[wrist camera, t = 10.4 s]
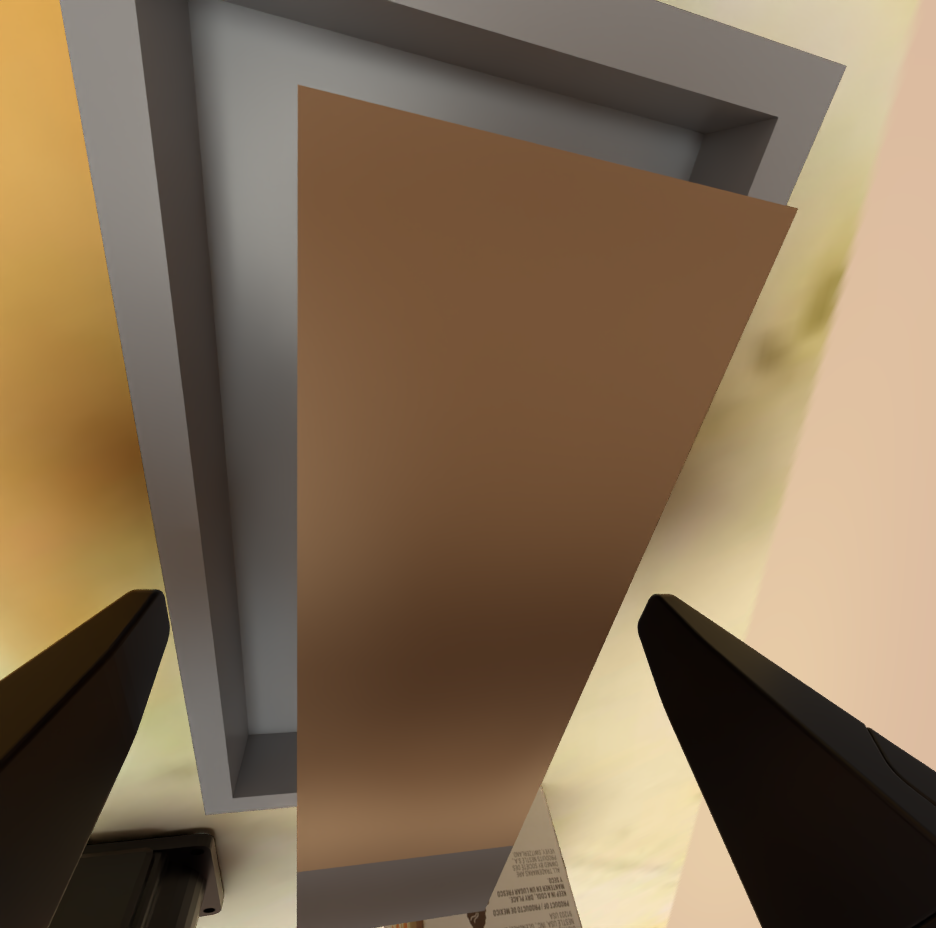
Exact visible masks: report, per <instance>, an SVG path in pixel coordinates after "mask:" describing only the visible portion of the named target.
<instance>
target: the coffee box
mask: <svg viewBox="0 0 936 928" xmlns="http://www.w3.org/2000/svg"><path fill="white" fill-rule="evenodd" d="M384 928H582V925H581V921H580V918H579V914H578V911H577V908H576V904H575V901H574V897H573V894H572V890H571V887H570V883H569V880H568V876H567V872H566V867H565V864H564V860H563V858H562V854H561V851H560V847H559V844H558V840H557V836H556V833H555V830H554V826H553V823H552V819H551V815H550V812H549V809H548V805H547V801H546V798H545V795H544V791H543V788H542V787H541V786H540V788H539V790H538V792H537V794H536V797H535V799H534V801H533V803H532V806H531V808H530V810H529V812H528V814H527V817H526V819H525V821H524V823H523V826H522V828H521V830H520V832H519V835H518V837H517V839H516V841H515V844H514V846H513V848H512V850H511V853H510V855H509V857H508V859H507V862H506V864H505V866H504V868H503V870H502V873H501V875H500V877H499V879H498V882H497V884H496V886H495V888H494V891H493V893H492V895H491V897H490V900H489V902H488V904H487V906H486V909H485V911H479V912H473V913H466V914H460V915H453V916H447V917H440V918H434V919H427V920H421V921H415V922H408V923H402V924H395V925H389V926H384Z"/></svg>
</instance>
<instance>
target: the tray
mask: <svg viewBox="0 0 936 928" xmlns="http://www.w3.org/2000/svg"><path fill="white" fill-rule="evenodd" d="M60 5H61V11H62V16H63V22H64V28H65V33H66V39H67V44H68V50H69V56H70V61H71V67H72V72H73V78H74V83H75V89H76V95H77V100H78V106H79V111H80V117H81V123H82V128H83V134H84V139H85V145H86V150H87V156H88V162H89V167H90V173H91V178H92V184H93V190H94V195H95V201H96V206H97V212H98V217H99V223H100V229H101V234H102V240H103V245H104V251H105V257H106V262H107V268H108V273H109V279H110V284H111V290H112V296H113V301H114V307H115V312H116V318H117V324H118V329H119V335H120V340H121V346H122V351H123V357H124V363H125V368H126V374H127V379H128V385H129V391H130V396H131V402H132V407H133V413H134V418H135V424H136V430H137V435H138V441H139V446H140V452H141V458H142V463H143V469H144V474H145V480H146V485H147V491H148V497H149V502H150V508H151V513H152V519H153V525H154V530H155V536H156V541H157V547H158V552H159V558H160V564H161V569H162V575H163V580H164V586H165V592H166V597H167V603H168V608H169V614H170V619H171V625H172V631H173V636H174V642H175V647H176V653H177V659H178V664H179V670H180V675H181V681H182V686H183V692H184V698H185V703H186V709H187V714H188V720H189V726H190V731H191V737H192V742H193V748H194V753H195V759H196V765H197V770H198V776H199V781H200V787H201V793H202V798H203V804H204V809H205V815H211V814H222V813H232V812H243V811H254V810H265V809H275V808H286V807H297V251H298V85H302V86H306V87H310V88H314V89H318V90H322V91H326V92H330V93H334V94H338V95H342V96H346V97H350V98H354V99H358V100H362V101H367V102H371V103H375V104H379V105H383V106H387V107H391V108H395V109H399V110H403V111H407V112H411V113H415V114H419V115H423V116H427V117H431V118H435V119H439V120H443V121H447V122H451V123H455V124H459V125H463V126H467V127H471V128H475V129H479V130H483V131H487V132H491V133H495V134H499V135H503V136H508V137H512V138H516V139H520V140H524V141H528V142H532V143H536V144H540V145H544V146H548V147H552V148H556V149H560V150H564V151H568V152H572V153H576V154H580V155H584V156H588V157H592V158H596V159H600V160H604V161H608V162H612V163H616V164H620V165H624V166H628V167H632V168H636V169H640V170H644V171H649V172H653V173H657V174H661V175H665V176H669V177H673V178H677V179H681V180H685V181H689V182H693V183H697V184H701V185H705V186H709V187H713V188H717V189H721V190H725V191H729V192H733V193H737V194H741V195H745V196H749V197H753V198H757V199H761V200H765V201H769V202H773V203H777V204H781V205H785V206H786V205H787V202H788V200H789V198H790V195H791V193H792V191H793V188H794V186H795V184H796V182H797V179H798V177H799V175H800V172H801V170H802V168H803V165H804V163H805V161H806V158H807V156H808V154H809V152H810V149H811V147H812V145H813V142H814V140H815V138H816V135H817V133H818V131H819V129H820V126H821V124H822V122H823V119H824V117H825V115H826V112H827V110H828V108H829V105H830V103H831V101H832V99H833V96H834V94H835V92H836V89H837V87H838V85H839V82H840V80H841V78H842V75H843V73H844V71H845V69H846V66H845V65H842V64H839V63H836V62H833V61H830V60H828V59H825V58H822V57H819V56H816V55H813V54H810V53H807V52H804V51H801V50H798V49H796V48H793V47H790V46H787V45H784V44H781V43H778V42H775V41H772V40H769V39H767V38H764V37H761V36H758V35H755V34H752V33H749V32H746V31H743V30H740V29H737V28H735V27H732V26H729V25H726V24H723V23H720V22H717V21H714V20H711V19H708V18H705V17H703V16H700V15H697V14H694V13H691V12H688V11H685V10H682V9H679V8H676V7H674V6H671V5H668V4H665V3H662V2H659V1H656V0H60Z"/></svg>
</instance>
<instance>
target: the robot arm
mask: <svg viewBox="0 0 936 928" xmlns="http://www.w3.org/2000/svg"><path fill="white" fill-rule="evenodd" d="M169 632H170V624H169V619H168V613H167V607H166V602H165V597H164V594H163V592H162V591H160V590H149V589H136V590H132V591H130V592H128V593H126V594H125V595H123V596H122V597H120V598H119V599H118V600H116V601H115V602H113V603H112V604H110V605H109V606H107V607H106V608H105V609H103V610H102V611H100V612H99V613H97V614H96V615H94V616H93V617H92V618H90V619H89V620H87V621H86V622H84V623H83V624H81V625H80V626H79V627H77V628H76V629H74V630H73V631H71V632H70V633H68V634H67V635H65V636H64V637H63V638H61V639H60V640H58V641H57V642H55V643H54V644H52V645H51V646H50V647H48V648H47V649H45V650H44V651H42V652H41V653H39V654H38V655H37V656H35V657H34V658H32V659H31V660H29V661H28V662H26V663H25V664H24V665H22V666H21V667H19V668H18V669H16V670H15V671H13V672H12V673H11V674H9V675H8V676H6V677H5V678H3V679H2V680H0V928H196V925H197V922H198V918H199V917H200V916H207V915H213V914H216V913H219V912H220V911H221V908H222V904H223V899H224V895H223V889H222V883H221V877H220V871H219V865H218V859H217V854H216V848H215V842H214V838H213V836H211V835H208V834H193V835H183V836H173V837H163V838H154V839H144V840H134V841H124V842H114V843H104V844H94V845H86V844H87V842H88V840H89V837H90V835H91V833H92V831H93V829H94V826H95V824H96V822H97V820H98V818H99V815H100V813H101V811H102V809H103V807H104V805H105V802H106V800H107V798H108V796H109V794H110V791H111V789H112V787H113V785H114V783H115V781H116V778H117V776H118V774H119V772H120V770H121V767H122V765H123V763H124V761H125V759H126V757H127V754H128V752H129V750H130V747H131V745H132V743H133V740H134V738H135V736H136V733H137V730H138V727H139V725H140V722H141V719H142V716H143V713H144V710H145V707H146V704H147V701H148V698H149V695H150V692H151V689H152V686H153V683H154V680H155V677H156V674H157V671H158V668H159V665H160V662H161V659H162V656H163V653H164V650H165V647H166V644H167V641H168V637H169ZM638 634H639V637H640V640H641V643H642V646H643V649H644V652H645V655H646V658H647V661H648V663H649V666H650V669H651V672H652V675H653V678H654V681H655V684H656V687H657V690H658V693H659V696H660V698H661V701H662V704H663V706H664V709H665V711H666V713H667V716H668V718H669V721H670V723H671V725H672V727H673V730H674V732H675V734H676V736H677V738H678V741H679V743H680V745H681V747H682V750H683V752H684V754H685V756H686V759H687V761H688V763H689V765H690V768H691V770H692V772H693V774H694V777H695V779H696V781H697V783H698V786H699V788H700V790H701V792H702V794H703V797H704V799H705V801H706V803H707V806H708V808H709V810H710V812H711V815H712V817H713V819H714V821H715V823H716V826H717V828H718V830H719V833H720V835H721V837H722V839H723V842H724V844H725V846H726V848H727V850H728V853H729V855H730V857H731V859H732V862H733V864H734V866H735V868H736V870H737V873H738V875H739V877H740V880H741V882H742V884H743V886H744V888H745V891H746V893H747V895H748V898H749V900H750V902H751V904H752V906H753V909H754V911H755V913H756V915H757V918H758V920H759V922H760V924H761V927H762V928H936V772H935V771H934V770H932V769H931V768H929V767H928V766H926V765H925V764H923V763H922V762H920V761H919V760H917V759H916V758H914V757H913V756H911V755H910V754H908V753H907V752H905V751H904V750H902V749H901V748H899V747H898V746H896V745H894V744H893V743H892V742H890V741H888V740H887V739H886V738H884V737H883V736H881V735H880V734H878V733H877V732H875V731H874V730H872V729H871V728H866V726H865V725H864V724H863V723H862V722H860V721H859V720H857V719H856V718H854V717H853V716H851V715H850V714H849V713H847V712H846V711H844V710H843V709H841V708H840V707H838V706H837V705H835V704H834V703H832V702H831V701H829V700H828V699H826V698H825V697H823V696H822V695H821V694H819V693H818V692H816V691H815V690H813V689H812V688H810V687H809V686H807V685H806V684H804V683H803V682H801V681H800V680H798V679H797V678H795V677H794V676H792V675H791V674H790V673H788V672H787V671H785V670H783V669H782V668H781V667H779V666H778V665H776V664H775V663H773V662H772V661H770V660H768V659H767V658H766V657H764V656H763V655H761V654H760V653H758V652H757V651H756V650H754V649H753V648H751V647H750V646H748V645H747V644H745V643H744V642H742V641H741V640H739V639H738V638H736V637H735V636H733V635H732V634H730V633H729V632H727V631H726V630H725V629H723V628H722V627H720V626H719V625H717V624H716V623H714V622H713V621H711V620H710V619H708V618H707V617H705V616H704V615H702V614H701V613H699V612H698V611H696V610H695V609H693V608H692V607H691V606H689V605H688V604H686V603H685V602H683V601H682V600H680V599H679V598H677V597H676V596H674V595H671V594H654V595H652V596H651V597H650V598H649V600H648V602H647V604H646V607H645V609H644V611H643V613H642V615H641V617H640V619H639V621H638Z"/></svg>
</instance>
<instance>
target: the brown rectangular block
mask: <svg viewBox="0 0 936 928" xmlns="http://www.w3.org/2000/svg"><path fill="white" fill-rule="evenodd" d="M797 210H798V208H794V207H790V206H785V205H781V204H777V203H773V202H769V201H765V200H761V199H757V198H753V197H749V196H745V195H741V194H737V193H733V192H729V191H725V190H721V189H717V188H713V187H709V186H705V185H701V184H697V183H693V182H689V181H685V180H681V179H677V178H673V177H669V176H665V175H661V174H657V173H653V172H649V171H644V170H640V169H636V168H632V167H628V166H624V165H620V164H616V163H612V162H608V161H604V160H600V159H596V158H592V157H588V156H584V155H580V154H576V153H572V152H568V151H564V150H560V149H556V148H552V147H548V146H544V145H540V144H536V143H532V142H528V141H524V140H520V139H516V138H512V137H508V136H503V135H499V134H495V133H491V132H487V131H483V130H479V129H475V128H471V127H467V126H463V125H459V124H455V123H451V122H447V121H443V120H439V119H435V118H431V117H427V116H423V115H419V114H415V113H411V112H407V111H403V110H399V109H395V108H391V107H387V106H383V105H379V104H375V103H371V102H367V101H362V100H358V99H354V98H350V97H346V96H342V95H338V94H334V93H330V92H326V91H322V90H318V89H314V88H310V87H306V86H302V85H298V251H297V928H376V927H382V926H389V925H395V924H402V923H408V922H415V921H421V920H427V919H434V918H440V917H447V916H453V915H460V914H466V913H473V912H479V911H485V909H486V906H487V904H488V902H489V900H490V897H491V895H492V893H493V891H494V888H495V886H496V884H497V882H498V879H499V877H500V875H501V873H502V870H503V868H504V866H505V864H506V862H507V859H508V857H509V855H510V853H511V850H512V848H513V846H514V844H515V841H516V839H517V837H518V835H519V832H520V830H521V828H522V826H523V823H524V821H525V819H526V817H527V814H528V812H529V810H530V808H531V806H532V803H533V801H534V799H535V797H536V794H537V792H538V790H539V788H540V785H541V783H542V781H543V779H544V776H545V774H546V772H547V770H548V767H549V765H550V763H551V761H552V759H553V756H554V754H555V752H556V750H557V747H558V745H559V743H560V741H561V738H562V736H563V734H564V732H565V729H566V727H567V725H568V723H569V720H570V718H571V716H572V714H573V711H574V709H575V707H576V705H577V703H578V700H579V698H580V696H581V694H582V691H583V689H584V687H585V685H586V682H587V680H588V678H589V676H590V673H591V671H592V669H593V667H594V664H595V662H596V660H597V658H598V656H599V653H600V651H601V649H602V647H603V644H604V642H605V640H606V638H607V635H608V633H609V631H610V629H611V626H612V624H613V622H614V620H615V617H616V615H617V613H618V611H619V608H620V606H621V604H622V602H623V600H624V597H625V595H626V593H627V591H628V588H629V586H630V584H631V582H632V579H633V577H634V575H635V573H636V570H637V568H638V566H639V564H640V561H641V559H642V557H643V555H644V553H645V550H646V548H647V546H648V544H649V541H650V539H651V537H652V535H653V532H654V530H655V528H656V526H657V523H658V521H659V519H660V517H661V514H662V512H663V510H664V508H665V505H666V503H667V501H668V499H669V497H670V494H671V492H672V490H673V488H674V485H675V483H676V481H677V479H678V476H679V474H680V472H681V470H682V467H683V465H684V463H685V461H686V458H687V456H688V454H689V452H690V450H691V447H692V445H693V443H694V441H695V438H696V436H697V434H698V432H699V429H700V427H701V425H702V423H703V420H704V418H705V416H706V414H707V411H708V409H709V407H710V405H711V402H712V400H713V398H714V396H715V394H716V391H717V389H718V387H719V385H720V382H721V380H722V378H723V376H724V373H725V371H726V369H727V367H728V364H729V362H730V360H731V358H732V355H733V353H734V351H735V349H736V347H737V344H738V342H739V340H740V338H741V335H742V333H743V331H744V329H745V326H746V324H747V322H748V320H749V317H750V315H751V313H752V311H753V308H754V306H755V304H756V302H757V299H758V297H759V295H760V293H761V291H762V288H763V286H764V284H765V282H766V279H767V277H768V275H769V273H770V270H771V268H772V266H773V264H774V261H775V259H776V257H777V255H778V252H779V250H780V248H781V246H782V244H783V241H784V239H785V237H786V235H787V232H788V230H789V228H790V226H791V223H792V221H793V219H794V217H795V214H796V212H797Z"/></svg>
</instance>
